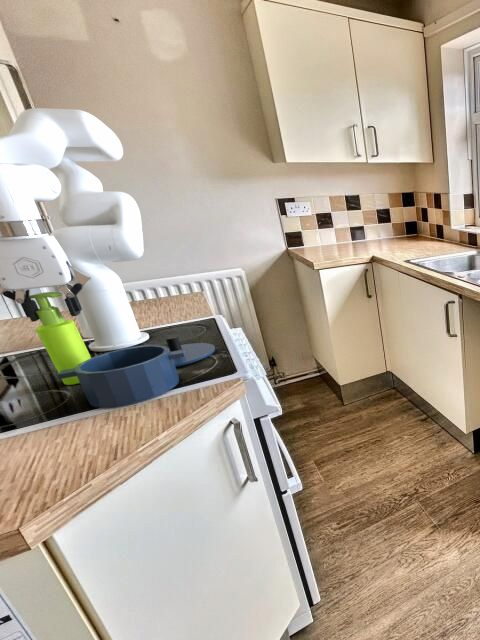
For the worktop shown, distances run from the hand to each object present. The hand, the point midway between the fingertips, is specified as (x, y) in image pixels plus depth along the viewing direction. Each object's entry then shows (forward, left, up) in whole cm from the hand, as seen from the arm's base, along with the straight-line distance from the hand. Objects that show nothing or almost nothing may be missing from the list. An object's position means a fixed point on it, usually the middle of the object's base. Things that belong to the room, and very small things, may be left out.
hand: (56, 316), depth 90 cm
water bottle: (-41, -7, -15) cm, 44 cm away
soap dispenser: (0, 0, -15) cm, 15 cm away
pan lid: (-3, +17, -14) cm, 23 cm away
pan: (+14, +12, -15) cm, 24 cm away
